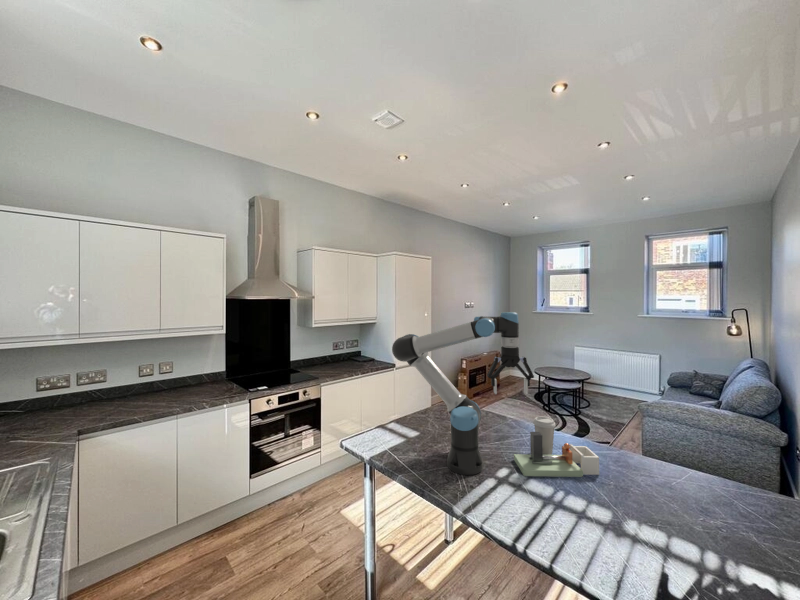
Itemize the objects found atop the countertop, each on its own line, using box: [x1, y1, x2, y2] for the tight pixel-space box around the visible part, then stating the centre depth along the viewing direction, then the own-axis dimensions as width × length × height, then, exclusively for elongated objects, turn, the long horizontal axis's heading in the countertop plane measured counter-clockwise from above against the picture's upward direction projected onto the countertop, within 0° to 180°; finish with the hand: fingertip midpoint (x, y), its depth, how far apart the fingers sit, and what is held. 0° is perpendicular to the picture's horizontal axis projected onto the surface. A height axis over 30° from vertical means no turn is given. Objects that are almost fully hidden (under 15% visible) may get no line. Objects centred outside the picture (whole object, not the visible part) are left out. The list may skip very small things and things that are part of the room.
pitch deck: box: [513, 453, 584, 478], centre depth 132 cm, size 23×13×2 cm, turn 87°
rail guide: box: [529, 457, 552, 464], centre depth 132 cm, size 8×4×1 cm, turn 87°
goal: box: [569, 443, 600, 476], centre depth 131 cm, size 7×10×8 cm
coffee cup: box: [532, 415, 557, 455], centre depth 146 cm, size 10×10×15 cm
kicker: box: [529, 431, 573, 464], centre depth 132 cm, size 16×6×11 cm, turn 87°
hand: (510, 393), depth 141 cm, fingers open, 13 cm apart
